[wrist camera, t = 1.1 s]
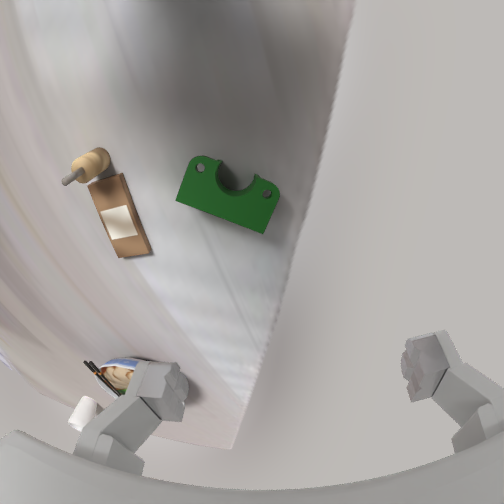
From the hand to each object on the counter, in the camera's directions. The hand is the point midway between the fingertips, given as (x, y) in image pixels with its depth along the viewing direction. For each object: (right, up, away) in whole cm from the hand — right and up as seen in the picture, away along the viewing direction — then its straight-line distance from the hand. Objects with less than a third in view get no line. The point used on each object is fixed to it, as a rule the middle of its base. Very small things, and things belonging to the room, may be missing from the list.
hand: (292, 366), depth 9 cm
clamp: (-4, +13, +28) cm, 31 cm away
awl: (-23, +17, +27) cm, 39 cm away
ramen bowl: (-28, -25, +55) cm, 66 cm away
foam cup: (-61, -51, +74) cm, 108 cm away
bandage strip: (-21, +9, +32) cm, 39 cm away
